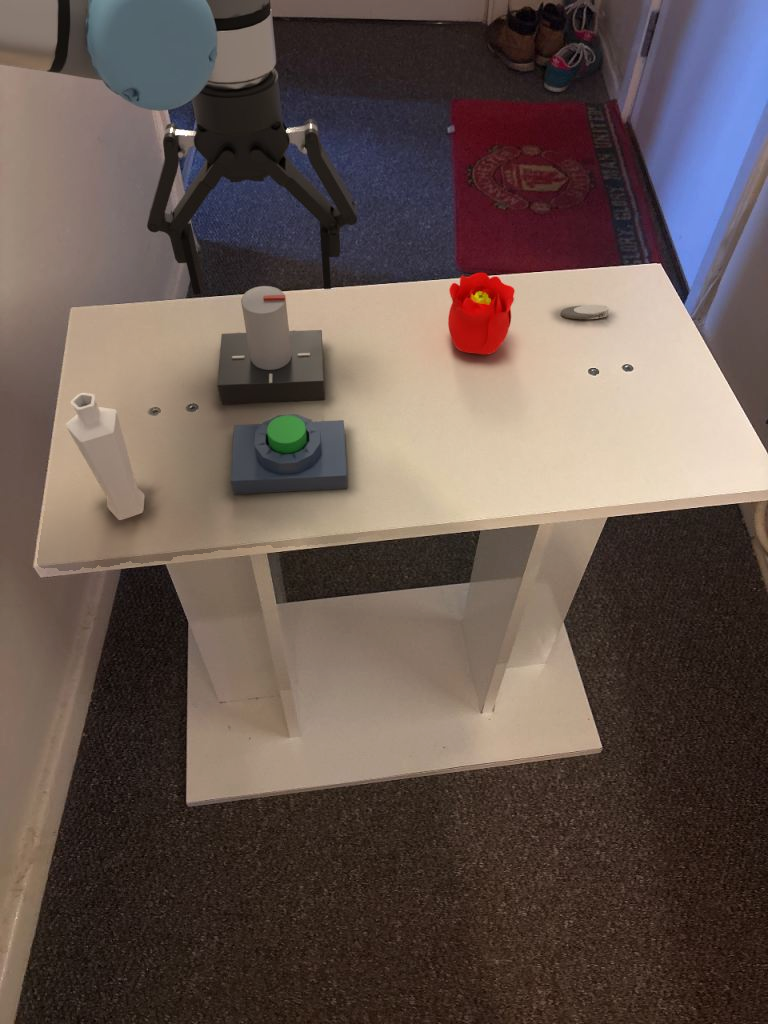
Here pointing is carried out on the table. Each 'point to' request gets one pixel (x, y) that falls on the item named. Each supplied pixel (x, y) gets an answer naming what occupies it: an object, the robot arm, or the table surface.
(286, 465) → the button block
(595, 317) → the oval pebble
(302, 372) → the dial panel
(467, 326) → the flower
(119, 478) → the perfume bottle
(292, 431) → the button
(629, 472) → the table surface
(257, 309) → the dial
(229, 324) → the table surface
